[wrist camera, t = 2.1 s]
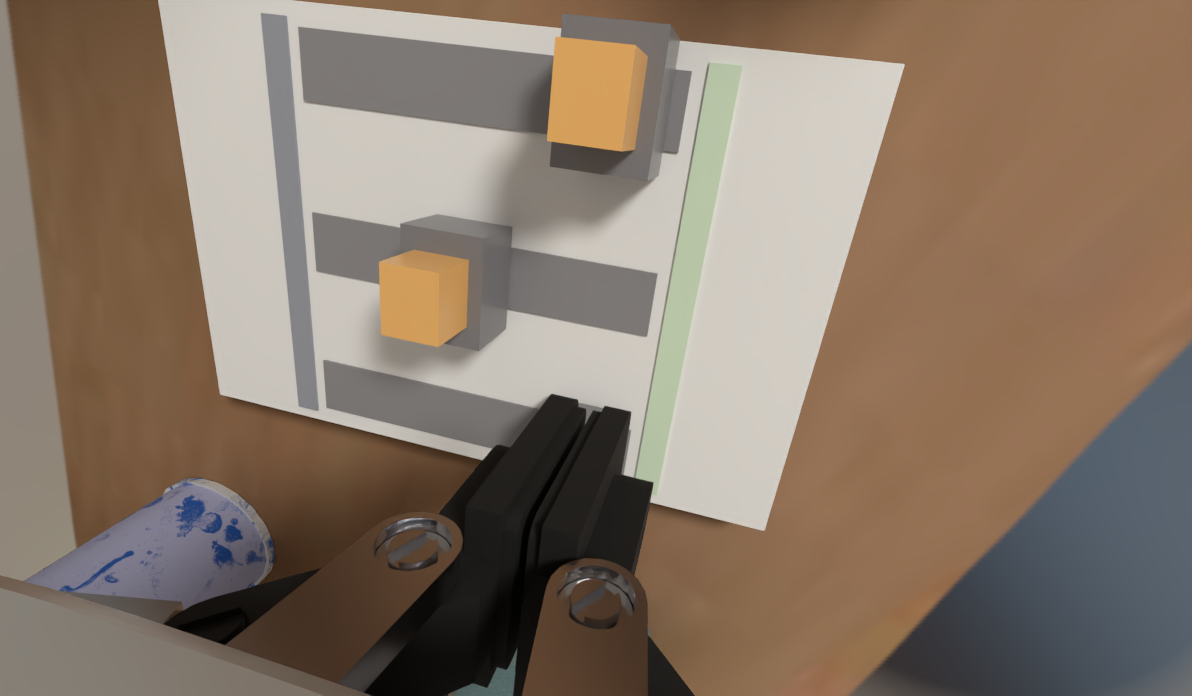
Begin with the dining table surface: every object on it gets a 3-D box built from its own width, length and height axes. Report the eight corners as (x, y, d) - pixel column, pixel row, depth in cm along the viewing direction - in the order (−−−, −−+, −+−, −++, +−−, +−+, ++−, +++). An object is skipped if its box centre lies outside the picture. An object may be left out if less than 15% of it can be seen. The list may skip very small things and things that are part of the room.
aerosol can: (152, 533, 35) (-471, 954, 17) (181, 453, 32) (-553, 870, 14) (253, 604, 35) (-259, 1098, 17) (291, 532, 32) (-290, 1047, 14)
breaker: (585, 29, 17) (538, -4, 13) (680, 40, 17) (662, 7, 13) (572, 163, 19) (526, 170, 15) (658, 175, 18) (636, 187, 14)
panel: (203, -2, 22) (153, -15, 20) (887, 71, 18) (905, 63, 16) (253, 378, 29) (218, 395, 27) (762, 501, 24) (764, 532, 22)
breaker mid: (437, 214, 21) (362, 232, 16) (512, 226, 20) (455, 249, 16) (436, 314, 22) (368, 354, 18) (506, 328, 22) (452, 373, 18)
